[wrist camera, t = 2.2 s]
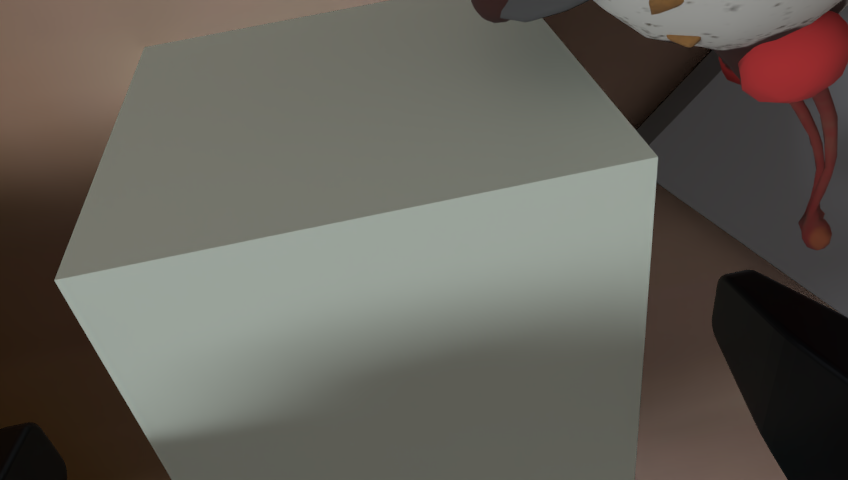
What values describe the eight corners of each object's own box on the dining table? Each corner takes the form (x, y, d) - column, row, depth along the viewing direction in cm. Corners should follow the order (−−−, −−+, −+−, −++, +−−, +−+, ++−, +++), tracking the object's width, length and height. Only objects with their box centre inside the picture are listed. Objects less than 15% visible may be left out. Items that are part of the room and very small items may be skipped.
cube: (249, 313, 15) (236, 589, 11) (145, 45, 12) (54, 280, 7) (525, 256, 16) (633, 498, 11) (507, -24, 12) (658, 156, 7)
